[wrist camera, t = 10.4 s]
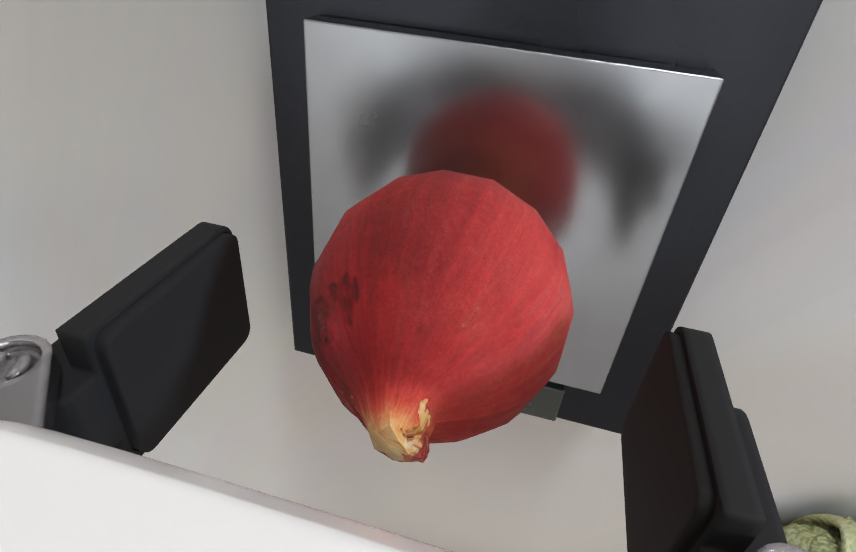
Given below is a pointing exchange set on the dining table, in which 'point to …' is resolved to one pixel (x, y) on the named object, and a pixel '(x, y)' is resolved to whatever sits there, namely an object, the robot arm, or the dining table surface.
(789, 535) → the washcloth
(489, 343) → the onion
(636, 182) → the scale pan
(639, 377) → the scale
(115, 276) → the dining table surface
